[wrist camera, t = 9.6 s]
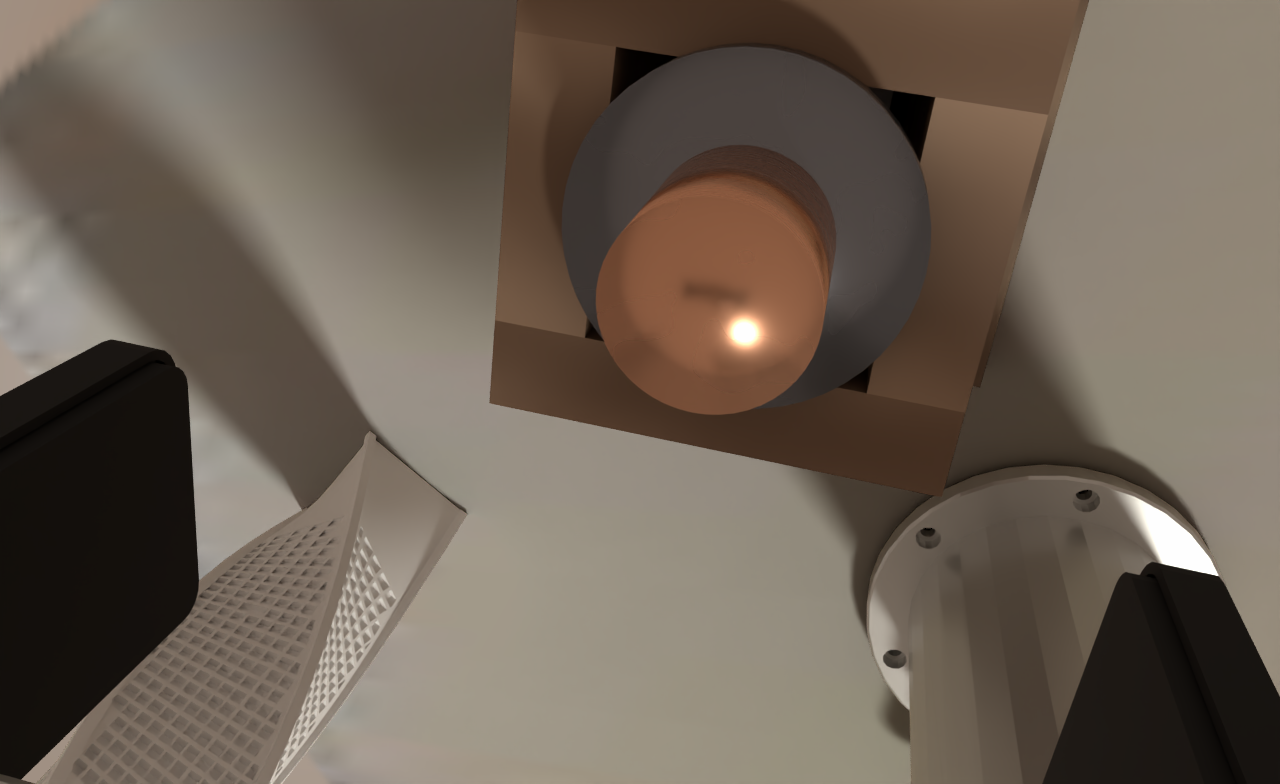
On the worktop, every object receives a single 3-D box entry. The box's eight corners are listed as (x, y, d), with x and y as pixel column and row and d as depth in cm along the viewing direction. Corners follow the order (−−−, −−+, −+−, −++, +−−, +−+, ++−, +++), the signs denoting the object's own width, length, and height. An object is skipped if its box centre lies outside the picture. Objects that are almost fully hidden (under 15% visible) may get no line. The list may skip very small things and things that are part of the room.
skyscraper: (366, 389, 43) (-359, 1048, 18) (510, 509, 44) (5, 1296, 19) (270, 509, 47) (-450, 1203, 22) (406, 618, 48) (-138, 1407, 23)
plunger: (889, 244, 34) (883, 546, 18) (671, 206, 35) (481, 459, 19) (942, 11, 31) (991, 122, 15) (703, -24, 32) (508, 44, 16)
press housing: (977, 370, 38) (1024, 638, 24) (560, 290, 40) (382, 494, 26) (1118, -141, 31) (1301, -181, 17) (607, -205, 33) (399, -287, 19)
